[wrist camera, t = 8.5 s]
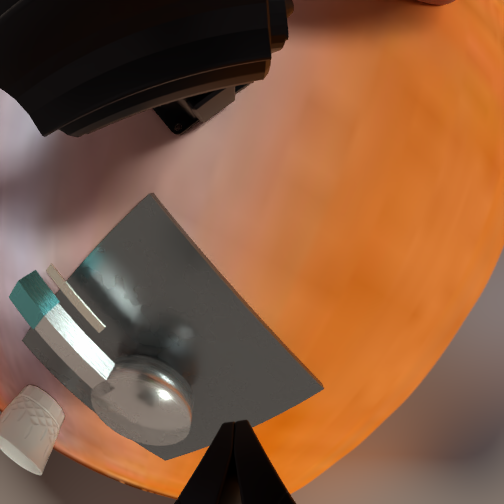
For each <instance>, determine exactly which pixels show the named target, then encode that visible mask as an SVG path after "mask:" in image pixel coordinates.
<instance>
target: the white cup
mask: <svg viewBox="0 0 504 504" xmlns="http://www.w3.org/2000/svg"><path fill="white" fill-rule="evenodd" d="M64 417H65V415H64V413H63V410H62V408H61V407H60V406H59V404H58V403H57V402H56V401H55V400H54V399H53V398H52V397H51V396H50V395H49V394H47V393H46V392H45V391H43V390H42V389H40V388H38V387H36V386H32V385H28V386H26V387H25V388H24V389H23V390H22V391H21V392H20V393H19V395H18V396H16V397H15V398H14V399H13V400H12V402H11V403H10V404H9V405H8V406H7V407H6V408H5V410H4V411H3V412H2V413H1V415H0V449H1V450H2V451H3V452H4V453H5V454H6V455H7V456H8V457H9V458H11V459H12V460H13V461H14V462H16V463H17V464H19V465H20V466H21V467H23V468H24V469H26V470H28V471H30V472H32V473H34V474H37V475H42V473H43V470H44V468H45V465H46V463H47V460H48V458H49V455H50V453H51V451H52V448H53V446H54V444H55V441H56V438H57V436H58V434H59V429H60V427H61V425H62V423H63V421H64Z"/></svg>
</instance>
